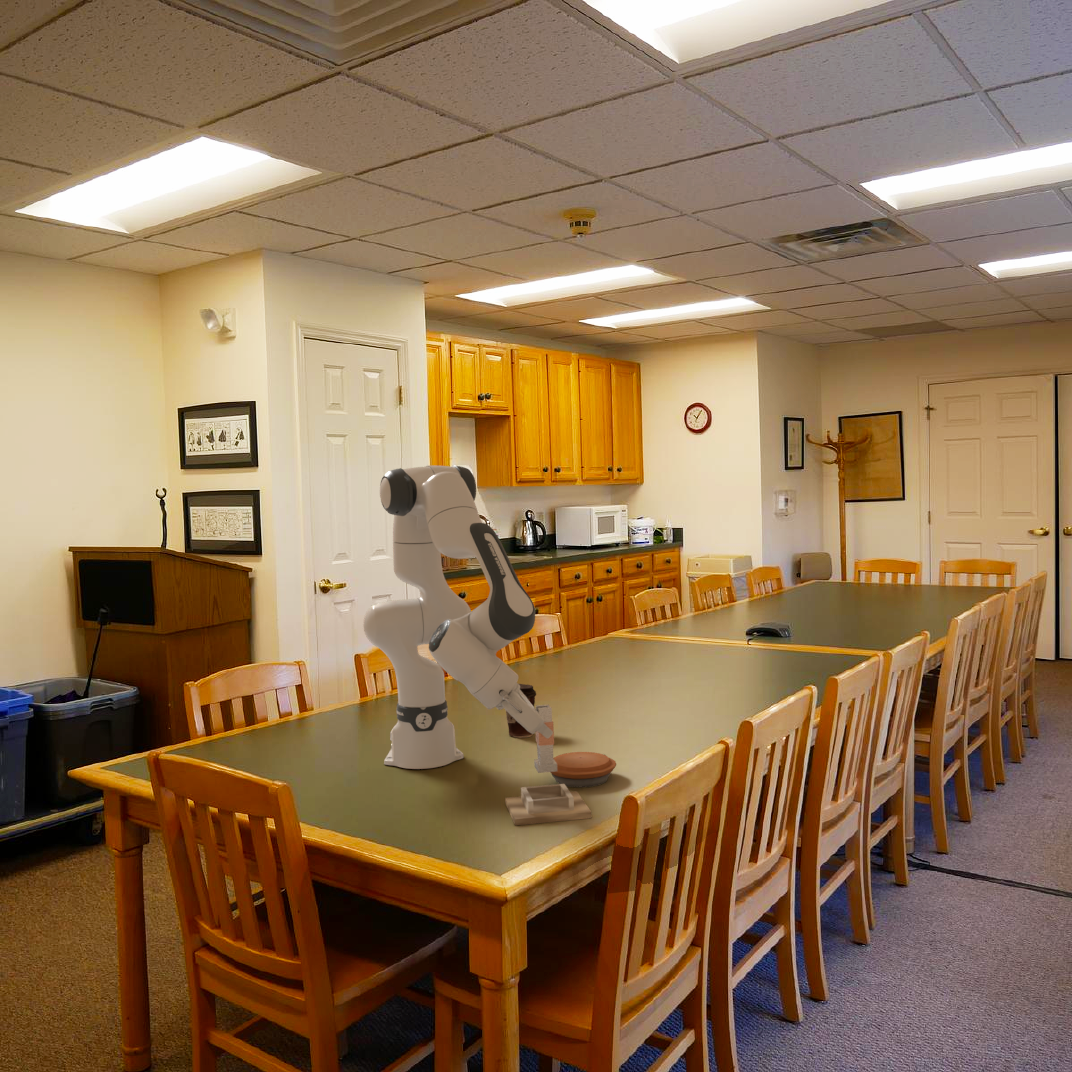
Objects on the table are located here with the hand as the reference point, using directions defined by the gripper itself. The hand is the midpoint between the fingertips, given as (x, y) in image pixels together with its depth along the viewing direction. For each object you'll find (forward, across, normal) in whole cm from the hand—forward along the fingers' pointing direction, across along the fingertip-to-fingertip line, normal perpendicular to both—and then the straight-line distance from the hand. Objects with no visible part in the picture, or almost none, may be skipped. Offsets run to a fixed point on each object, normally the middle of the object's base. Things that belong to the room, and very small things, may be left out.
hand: (547, 732), depth 188 cm
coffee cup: (+14, +59, +9) cm, 61 cm away
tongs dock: (+11, 0, +12) cm, 16 cm away
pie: (+19, +18, +4) cm, 26 cm away
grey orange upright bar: (+5, 0, +6) cm, 7 cm away
